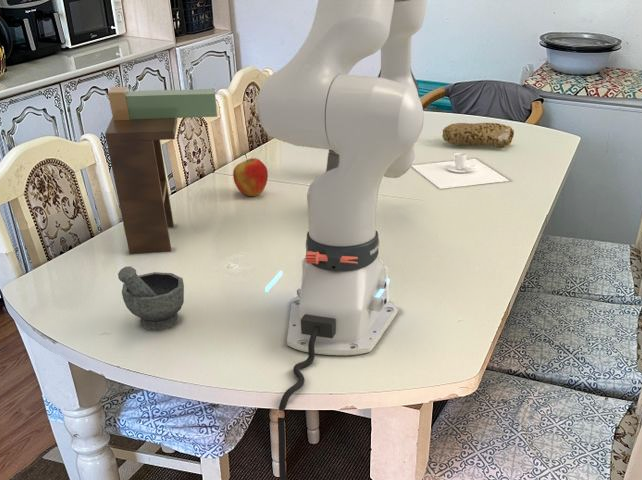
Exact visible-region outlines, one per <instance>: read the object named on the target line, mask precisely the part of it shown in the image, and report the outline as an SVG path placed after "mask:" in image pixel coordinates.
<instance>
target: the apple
mask: <svg viewBox="0 0 642 480" xmlns="http://www.w3.org/2000/svg"><path fill="white" fill-rule="evenodd" d="M244 155H245V158H246V160H244V161H242V162H240V163H238V164H236V166H235V167H234V168H233V172H232V177H233V178H232V179H233V182H234V184H235V186H236V188H237V190H238V191H239V192H240V193H242V194H243V195H244V196H247V197H257V196H259V195H261V193H263V191H264V190H265V188H266V187H267V183H268V179H269V177H268V176H269V173H268V172H269V171H268V168H267V166H266V165H265V164H264V162H263V161H261V160H260V159H258V158H256V157H253V158H248V157H247V153H244Z"/></svg>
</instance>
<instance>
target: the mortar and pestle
mask: <svg viewBox="0 0 642 480" xmlns="http://www.w3.org/2000/svg"><path fill="white" fill-rule="evenodd" d="M117 278H118V280H119V281H120V282H122V283H123V284H122V288H121V295H122V300H123V303H124V305H125V307H126V309H128V310H129V312H130V313H131V314H133V315H134V316H135V317H138V318H139V319H140V321H139V324H140V327H141V328H143V329H144V330H146V331H151V332H160V331H164V330H168V329H172V328H173V327H175V326H176V325H178V323H179V315H178V312H180V311H181V309H182V308H183V304H184V300H185V299H184V297H185V284H184V278H182V277H181V276H179V275H176V274H174V273H173V272H158V271H153V272H149V273H144V274H137V270H136V269H135V268H134V267H133V266H129V265H128V266H124V267H122V268H121V269H120V270H119V272H118V273H117Z"/></svg>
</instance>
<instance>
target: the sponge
mask: <svg viewBox="0 0 642 480" xmlns="http://www.w3.org/2000/svg"><path fill="white" fill-rule="evenodd" d="M514 136H515V130H514V129H513V127H511V126H510V125H506V124H502V123H498V122H476V123H469V122H468V123H466V122H455V123H450V124H449V125H447V126H445V127H444V128H443V129H442V136H441V137H442V140H444V141H445V142H447V143H448V144H450V145H455V146H461V147H475V146H476V147H477V146H490V147H495V148H499V149H505V148H506V147H508V146H510V145H511V143H512V141H513V139H514Z"/></svg>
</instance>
